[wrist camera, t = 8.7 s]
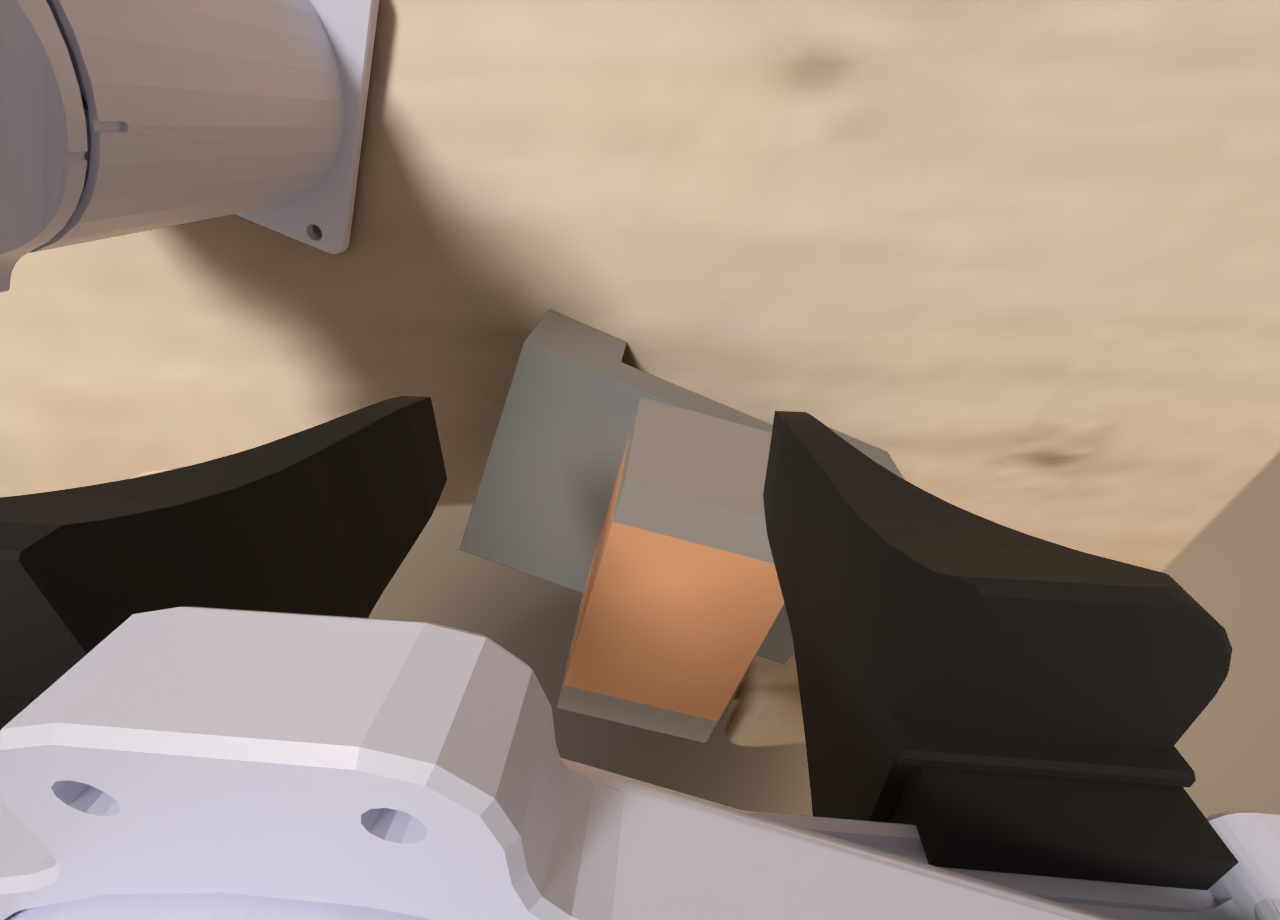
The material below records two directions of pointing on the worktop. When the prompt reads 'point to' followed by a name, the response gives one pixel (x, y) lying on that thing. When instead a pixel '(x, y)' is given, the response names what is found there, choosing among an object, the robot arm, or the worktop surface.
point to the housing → (676, 577)
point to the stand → (578, 456)
